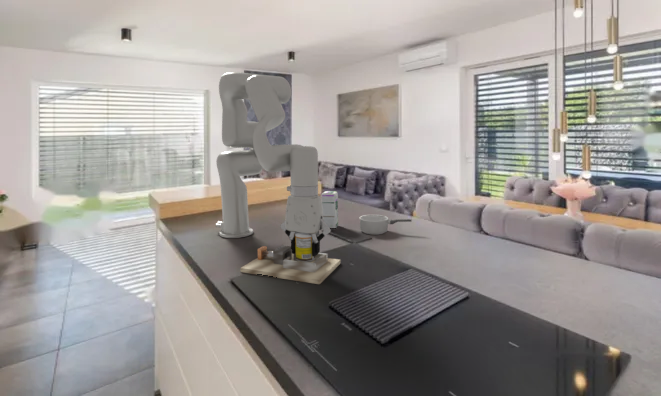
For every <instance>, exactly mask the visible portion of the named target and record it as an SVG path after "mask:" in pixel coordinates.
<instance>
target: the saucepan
mask: <svg viewBox="0 0 661 396" xmlns="http://www.w3.org/2000/svg"><path fill="white" fill-rule="evenodd" d="M358 219H359V230H360V231H361V232H362V233H364V234H367V235H383V234H385V233H386V232H388V228H389V225H394V224H396V223H406V222H408V223H409V222H410V223H411V222H412V221H413V220H412V219H410V218H409V219H408V218H405V219H404V218H403V219H402V218H401V219H400V218H399V219H398V218H397V219H390V217H388V216H386V215H382V214H364V215H361V216H359V218H358Z"/></svg>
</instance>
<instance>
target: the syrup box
mask: <svg viewBox="0 0 661 396" xmlns="http://www.w3.org/2000/svg"><path fill="white" fill-rule="evenodd" d="M338 194H339V193H338V191H335V190H327V191H324V192H322V193H321V194H320V198H321V203H322V209H323V221H324V222H325V223H326V224H327V226H328V227H329V228H336V229H337V227H338V226H339V195H338Z"/></svg>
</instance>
